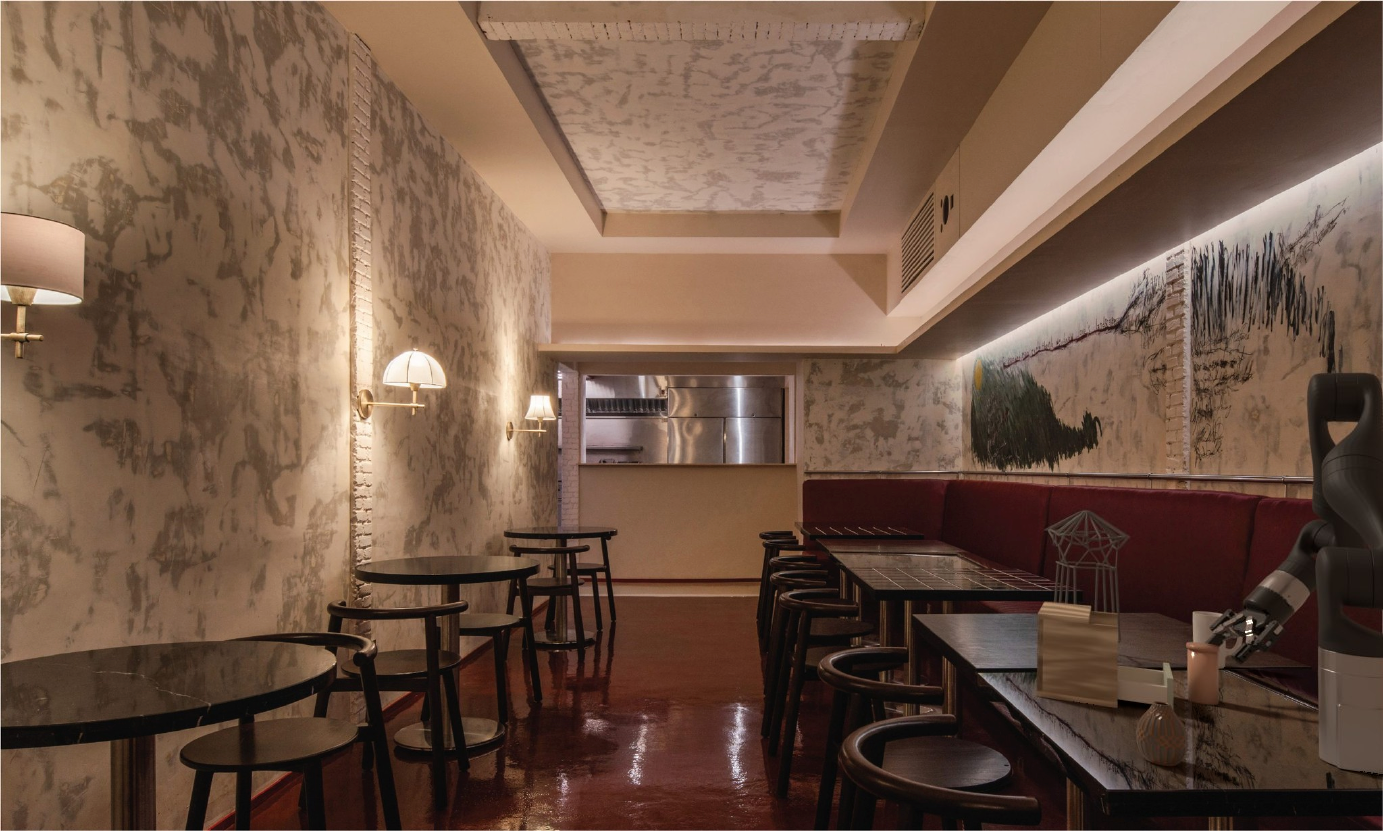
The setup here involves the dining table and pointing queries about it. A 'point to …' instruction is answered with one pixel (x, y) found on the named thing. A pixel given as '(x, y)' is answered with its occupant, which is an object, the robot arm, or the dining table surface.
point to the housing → (1077, 654)
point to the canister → (1203, 673)
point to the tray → (1145, 684)
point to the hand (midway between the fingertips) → (1220, 655)
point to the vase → (1162, 735)
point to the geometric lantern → (1103, 524)
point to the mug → (1211, 633)
